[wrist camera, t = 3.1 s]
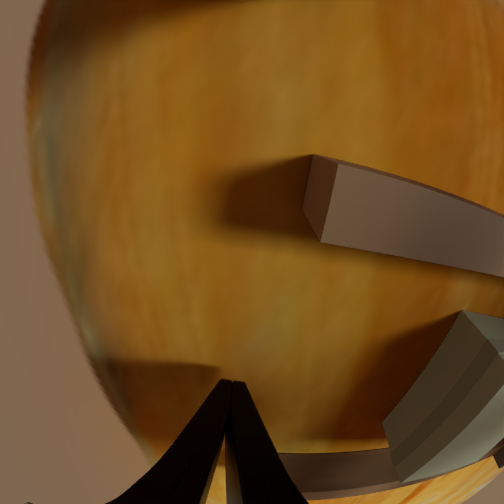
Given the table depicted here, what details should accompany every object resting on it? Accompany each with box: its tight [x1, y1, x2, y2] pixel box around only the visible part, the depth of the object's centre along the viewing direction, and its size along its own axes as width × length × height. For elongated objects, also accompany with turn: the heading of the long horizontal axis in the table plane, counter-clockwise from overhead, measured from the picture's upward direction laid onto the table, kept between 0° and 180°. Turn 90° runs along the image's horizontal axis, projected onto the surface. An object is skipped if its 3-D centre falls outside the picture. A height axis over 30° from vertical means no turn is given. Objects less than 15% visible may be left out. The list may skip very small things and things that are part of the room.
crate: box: [382, 310, 504, 483], centre depth 9 cm, size 6×7×4 cm
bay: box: [278, 154, 504, 500], centre depth 9 cm, size 22×16×4 cm
